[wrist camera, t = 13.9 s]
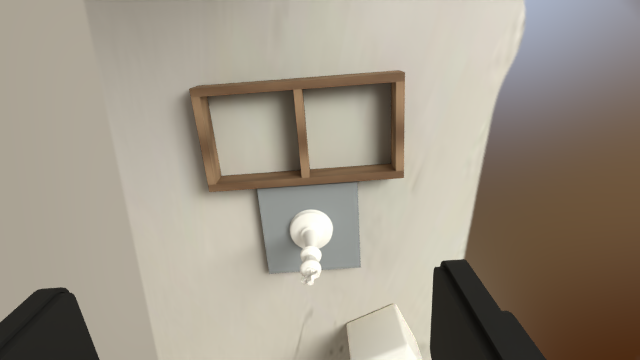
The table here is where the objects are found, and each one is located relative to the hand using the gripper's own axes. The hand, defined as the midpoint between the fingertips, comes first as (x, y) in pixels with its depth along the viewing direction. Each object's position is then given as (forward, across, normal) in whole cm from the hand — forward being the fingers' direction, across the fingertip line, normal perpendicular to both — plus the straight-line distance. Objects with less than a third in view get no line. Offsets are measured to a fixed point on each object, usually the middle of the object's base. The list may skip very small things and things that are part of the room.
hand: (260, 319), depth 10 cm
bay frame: (+30, 0, +2) cm, 30 cm away
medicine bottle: (+31, -8, +30) cm, 44 cm away
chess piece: (+30, 0, +13) cm, 32 cm away
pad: (+30, 0, +14) cm, 33 cm away
